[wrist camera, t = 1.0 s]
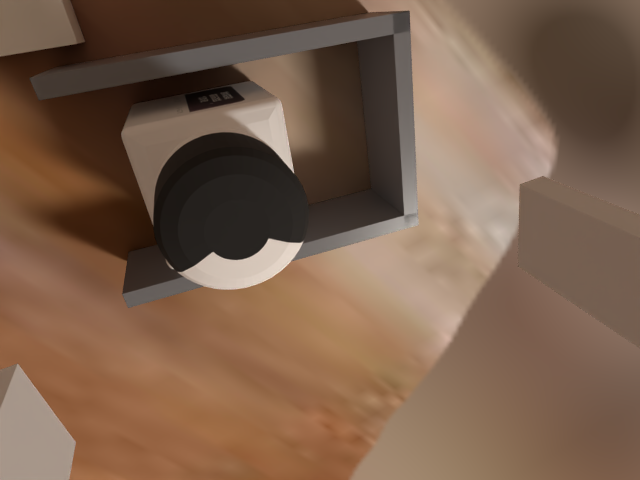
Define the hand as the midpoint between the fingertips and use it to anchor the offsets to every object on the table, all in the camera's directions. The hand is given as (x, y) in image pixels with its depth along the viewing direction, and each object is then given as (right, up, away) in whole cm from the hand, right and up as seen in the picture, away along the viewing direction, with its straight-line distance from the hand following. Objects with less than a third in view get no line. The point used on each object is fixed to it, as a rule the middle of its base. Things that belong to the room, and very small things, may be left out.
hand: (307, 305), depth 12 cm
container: (-7, +8, +18) cm, 21 cm away
